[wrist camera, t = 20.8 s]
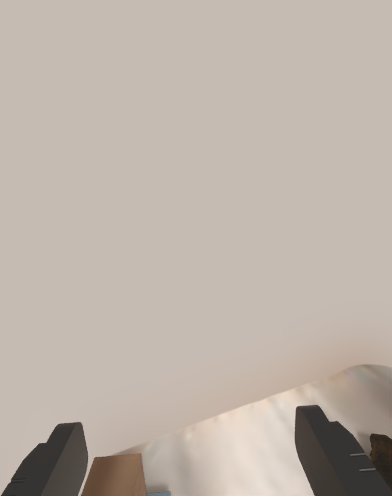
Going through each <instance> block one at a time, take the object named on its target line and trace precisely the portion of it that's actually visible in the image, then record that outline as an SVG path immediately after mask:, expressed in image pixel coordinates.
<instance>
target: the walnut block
mask: <svg viewBox="0 0 392 496" xmlns="http://www.w3.org/2000/svg"><path fill="white" fill-rule="evenodd" d="M81 496H147V495H146V488H145V481H144V473H143V466H142V458H141V454H130V455H118V456H107V457H95V458H94V461H93V464H92V466H91V469H90V472H89V475H88V478H87V481H86V483H85V486H84V489H83V492H82V495H81Z"/></svg>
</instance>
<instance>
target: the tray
mask: <svg viewBox="0 0 392 496" xmlns="http://www.w3.org/2000/svg"><path fill="white" fill-rule="evenodd" d="M146 495H147V496H171V493H170V491H169V492H157V493H146Z"/></svg>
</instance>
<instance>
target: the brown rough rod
mask: <svg viewBox="0 0 392 496" xmlns="http://www.w3.org/2000/svg"><path fill="white" fill-rule="evenodd" d="M370 441H371V447H372V451H371V454H370V455H371V462H372V463H373V465H374V466H375V469H376V471H378V472H379V474H380V475H381V476H382V478H383V479H384V481H385V482H386V484H387V485H388V487H389V488H390V489H391V491H392V439H390V438H389V437H388V436H386V435H378V434H371V436H370Z"/></svg>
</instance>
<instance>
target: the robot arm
mask: <svg viewBox="0 0 392 496" xmlns="http://www.w3.org/2000/svg"><path fill="white" fill-rule="evenodd" d="M295 445H296V450H297V453H298V457H299V460H300V462H301V464H302V467H303V469H304V471H305V474H306V476H307V479H308V481H309V483H310V486H311V488H312V490H313V493H314V495H315V496H392V491H391V489H390V488H389V487H388V485H387V484H386V482H385V481H384V479H383V478H382V476H381V475H380V474H379V472H378V471H376V469H375V466H374V465H373V463H372V462H371V460H370V459H369V458H368V456H366V455H365V452H364V450H363V449H362V447H361V446H360V445H359V443H358V442H357V440H356V439H355V437H354V436H353V435H352V434H351V433H350V432H349V431H348V430H347V429H346V428H344V427H343V426H342V425H341V424H340V423H339V422H338V421H335V422H329V420H328V419H327V417H326V416H325V414H324V412H323V411H322V409H321V408H320V407H319V406H318V405H310V406H298V407H297V408H296V419H295ZM87 463H88V452H87V447H86V442H85V436H84V431H83V426H82V424H81V422H76V423H64V424H58V425H57V426H56V427H55V429H54V430H53V432H52V434H51V435H50V437H49V439H48V441H47V443H40V444H38V445H37V446H36V448H34V449H33V451H32V452H31V453H30V454H29V455H28V456H27V457H26V458H25V459H24V460H23V461H22V463H21V465H20V466H19V468H18V470H17V471H16V473H15V474H14V476H13V477H12V479H11V482H10V483H9V484H8V485H7V487H6V489H5V490H4V492H3V493H2V495H1V496H78V493H79V490H80V488H81V485H82V482H83V480H84V477H85V474H86V470H87Z"/></svg>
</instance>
